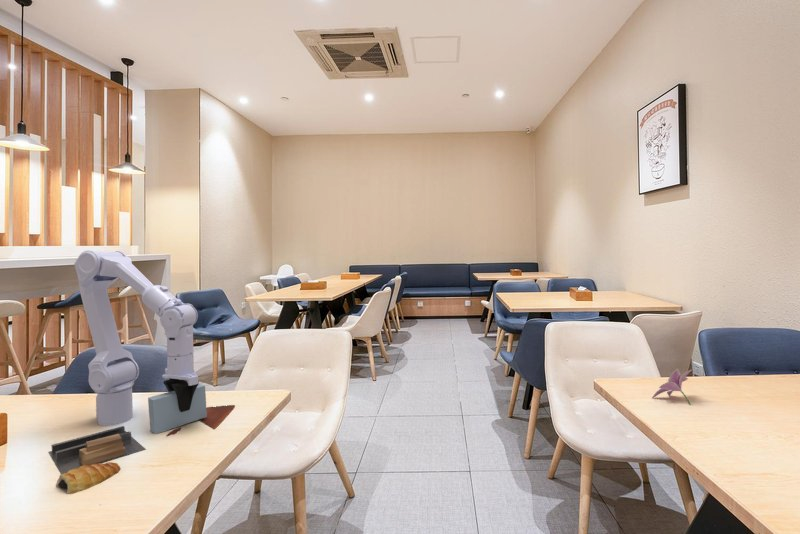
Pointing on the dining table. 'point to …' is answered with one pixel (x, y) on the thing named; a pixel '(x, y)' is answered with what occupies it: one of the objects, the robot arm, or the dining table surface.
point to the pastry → (86, 476)
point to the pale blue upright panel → (175, 410)
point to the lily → (673, 383)
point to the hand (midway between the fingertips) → (181, 409)
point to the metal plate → (68, 451)
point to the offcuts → (101, 449)
